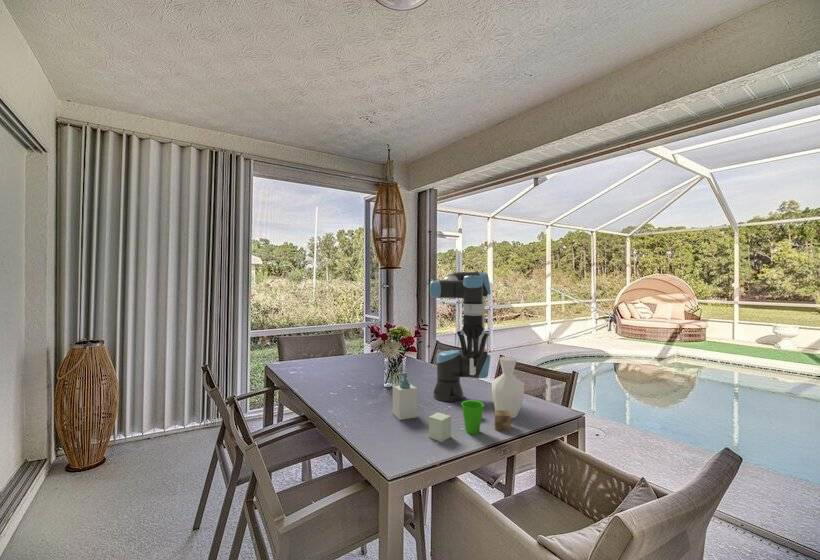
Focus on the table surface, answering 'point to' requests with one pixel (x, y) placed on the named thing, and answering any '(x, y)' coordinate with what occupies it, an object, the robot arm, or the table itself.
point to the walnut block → (502, 420)
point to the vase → (508, 388)
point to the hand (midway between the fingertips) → (472, 374)
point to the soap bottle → (405, 399)
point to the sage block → (439, 426)
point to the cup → (472, 415)
